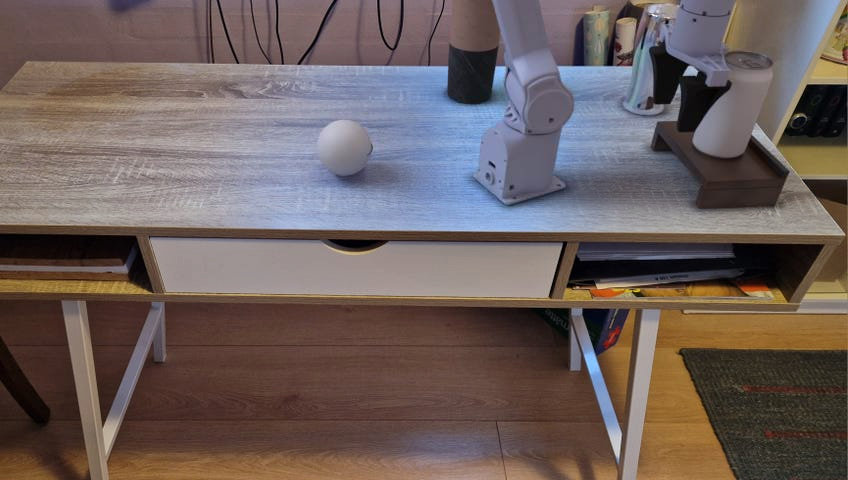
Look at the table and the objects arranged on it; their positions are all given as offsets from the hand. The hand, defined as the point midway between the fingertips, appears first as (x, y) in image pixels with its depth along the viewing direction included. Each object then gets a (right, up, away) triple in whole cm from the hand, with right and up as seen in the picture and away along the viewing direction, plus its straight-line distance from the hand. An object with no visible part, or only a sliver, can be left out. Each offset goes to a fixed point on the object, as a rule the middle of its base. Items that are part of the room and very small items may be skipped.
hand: (673, 116), depth 89 cm
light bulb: (-42, -3, +3) cm, 42 cm away
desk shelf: (+7, -7, +5) cm, 11 cm away
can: (+7, -4, +3) cm, 8 cm away
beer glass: (+4, +6, +21) cm, 23 cm away
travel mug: (-22, +9, +25) cm, 35 cm away
